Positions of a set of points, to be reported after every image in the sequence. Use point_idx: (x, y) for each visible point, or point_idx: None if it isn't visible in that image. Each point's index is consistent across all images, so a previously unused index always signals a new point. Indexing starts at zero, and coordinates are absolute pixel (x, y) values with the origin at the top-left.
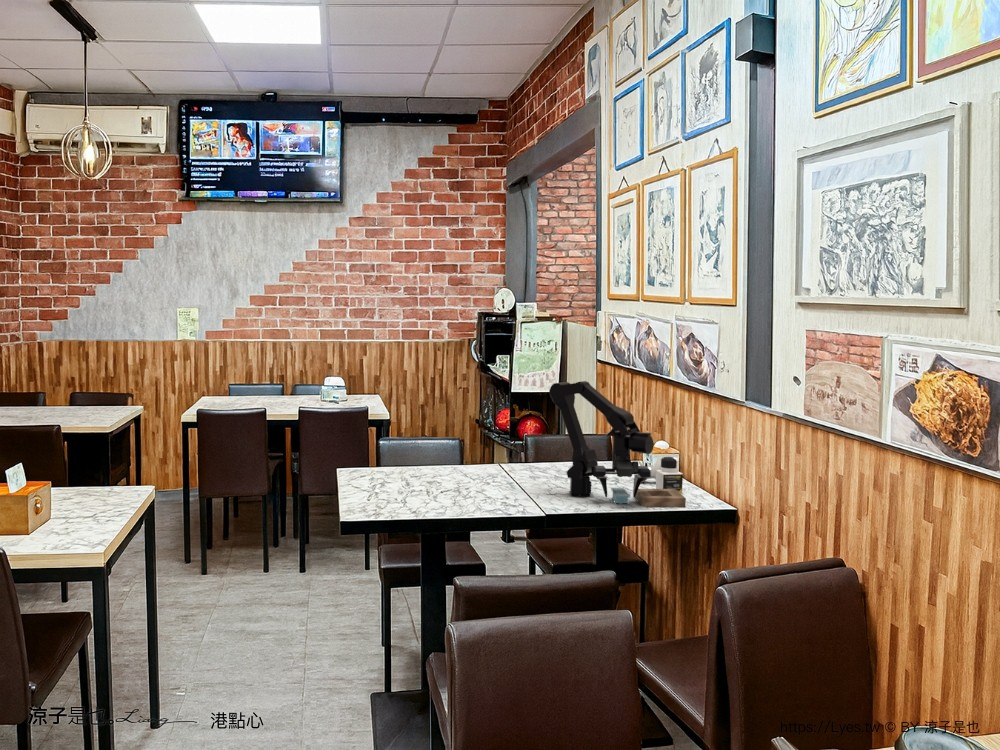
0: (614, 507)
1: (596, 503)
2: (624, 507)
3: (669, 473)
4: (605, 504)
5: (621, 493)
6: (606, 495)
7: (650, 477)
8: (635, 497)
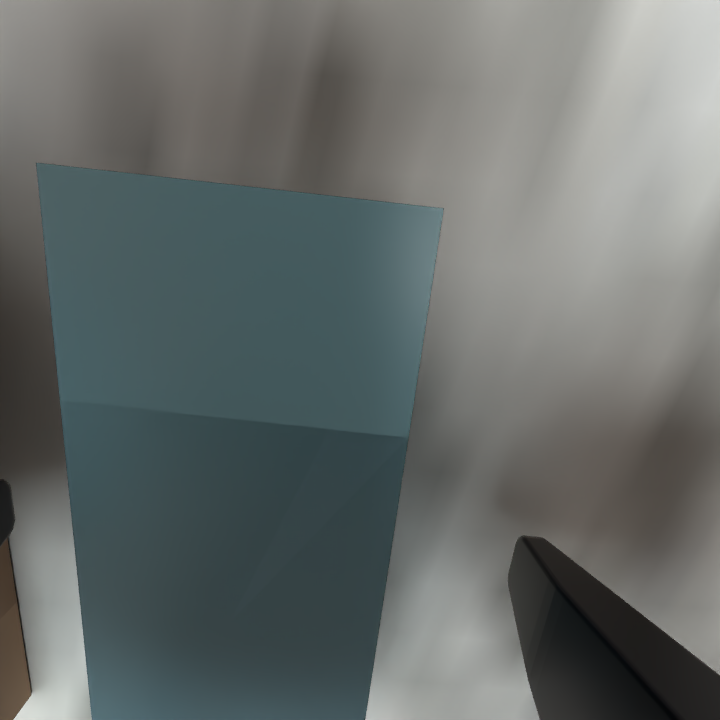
0: (506, 73)
1: (702, 418)
2: (303, 56)
3: None
4: (580, 337)
5: (247, 424)
6: (548, 556)
7: None
8: (2, 633)
